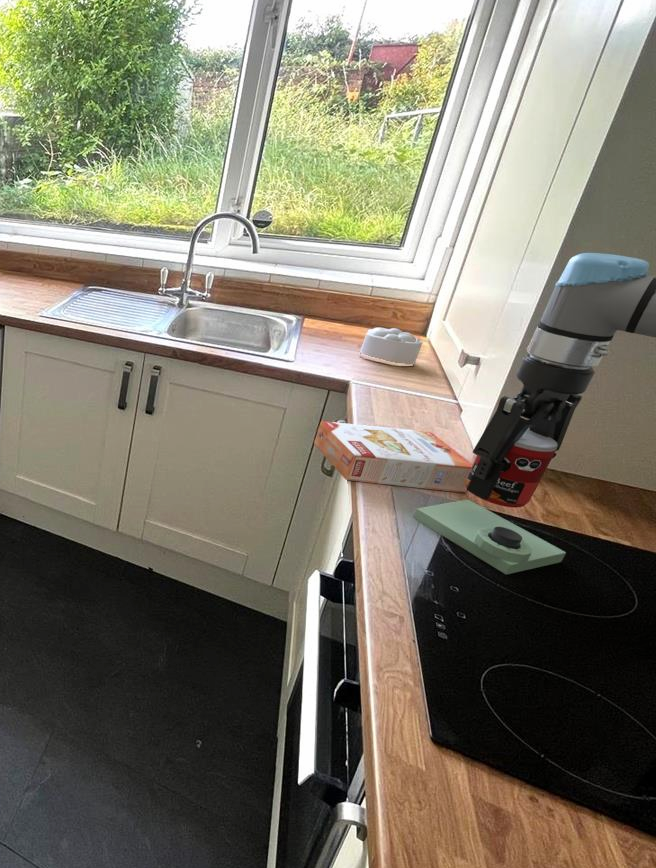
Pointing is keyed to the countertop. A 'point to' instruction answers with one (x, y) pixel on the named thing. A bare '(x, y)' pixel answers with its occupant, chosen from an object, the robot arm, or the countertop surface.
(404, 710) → the countertop surface
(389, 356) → the lumpy-topped squat cylinder
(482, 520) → the scale
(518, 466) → the canned food
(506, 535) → the button
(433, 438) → the cracker box
